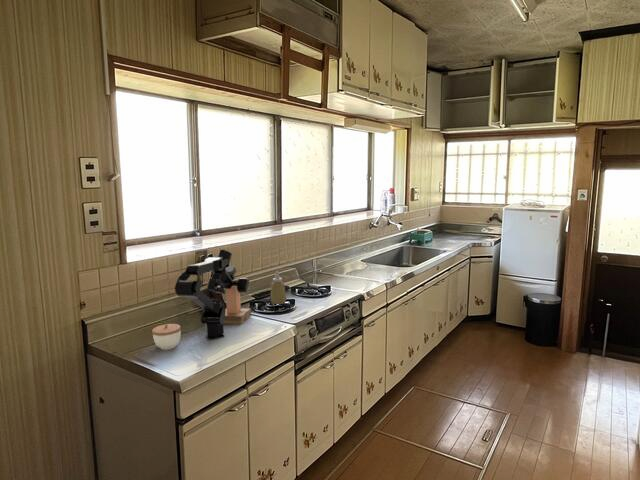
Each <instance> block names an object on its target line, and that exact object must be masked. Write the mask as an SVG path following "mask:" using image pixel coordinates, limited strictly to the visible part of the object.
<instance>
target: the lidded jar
mask: <svg viewBox="0 0 640 480" xmlns="http://www.w3.org/2000/svg"><path fill="white" fill-rule="evenodd" d="M151 333H152V337H153V341H154V344H155V345H156V346H157V347H158V348H159V349H160V350H163V349H164V350H165V351H166V350H167V351H168V350H171V349H174V348H176V347H177V345H178V344H179V343H180V340H181V335H182V334H181V333H182V332H181V325H180V324H177V323H164V324H160V325H158V326H156V327H154V328H152V330H151ZM164 350H163V351H164Z"/></svg>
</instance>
